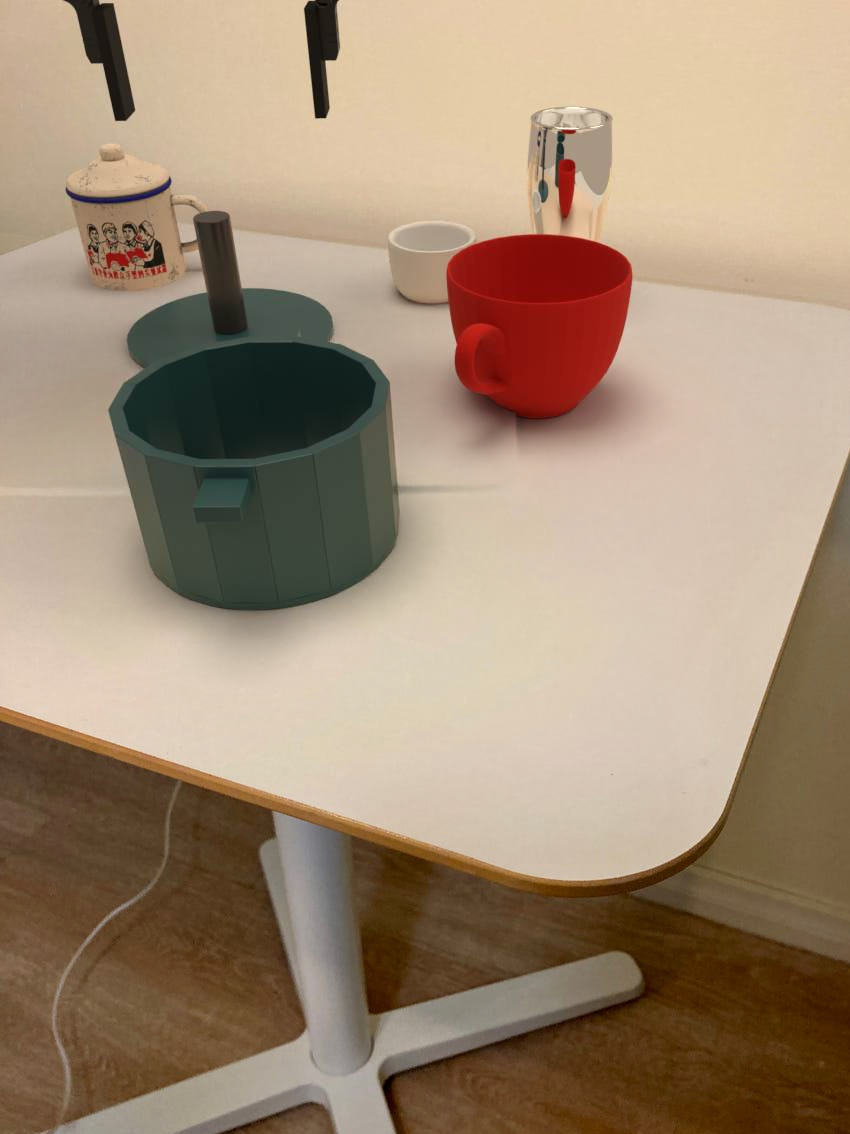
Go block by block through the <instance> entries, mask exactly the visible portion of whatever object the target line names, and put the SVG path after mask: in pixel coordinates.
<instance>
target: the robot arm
mask: <svg viewBox="0 0 850 1134" xmlns="http://www.w3.org/2000/svg"><path fill="white" fill-rule="evenodd" d="M62 1H63V2H66V3H68V4H69V5H71V7H72V8H73V9H74V11H75V13H76V17H77V22H78V25H79V31H80V34H81V38H82V43H83V47H84V52H85V56H86V58H87V60H88V61H89V63H90V64H93V65H94V64H95V65H96V64H97V65H98V64H101V65H102V67H103V72H104V76H105V81H106V86H107V91H108V94H109V99H110V104H111V109H112V113H113V117H114V121H115V122H127V121H128V120H129V119H130V117H132V115H133V114H134V113H135V112H136V107H135V101H134V97H133V92H132V91H133V90H132V85H131V82H130V78H129V72H128V68H127V62H126V58H125V52H124V49H123V43H122V38H121V33H120V28H119V24H118V19H117V13H116V9H115V3H114V2H102V3H101V2H100V0H62ZM339 1H340V0H308V1H307V2H306V4H305V5H304V7H303V13H304V23H305V33H306V44H307V52H308V63H309V74H310V81H311V92H312V101H313V112H314V113H313V114H314V119H327V118H328V115H329V111H330V109H331V106H330V105H331V104H330V95H329V84H328V74H327V73H328V72H327V63H326V61H334V62H335V61H337V60H338V57H339V55H340V50H341V39H340V32H339V31H340V27H339V15H338V2H339Z"/></svg>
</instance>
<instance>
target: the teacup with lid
mask: <svg viewBox="0 0 850 1134" xmlns="http://www.w3.org/2000/svg"><path fill="white" fill-rule="evenodd" d="M98 151H99V157H97V158H95V159H93V160H92V161H90V162H89V163H88V164H87V165H86V166H85V167H83V168H80V169H78V170H75V172H73V173H72V174H70V175H69V176H68V178H67V179H66V182H65V193H66V195H67V196H68V197H69V198H70V201H71V206H72V209H73V213H74V218H75V221H76V225H77V229H78V233H79V236H80V241H81V245H82V248H83V251H84V257H85V259H86V264H87V267H88V271H89V276H90V278H91V281H92V283H93V284H94V285H95V286H97V287H99V288H101V289H103V290H109V291H115V292H116V291H117V292H135V291H143V290H151V289H155V288H159V287H162V286H165V285H168V284H171V283H173V282H175V281H177V280H178V279H180V278H181V277H182V276H184V274H185V273H186V271H187V266H186V261H185V256H184V253H185V254H186V253H192V252H195V251H197V250H199V248H198V243H197V238H196V239H194V240H191V241H186V242H182V240H181V236H180V235H181V234H180V231H179V225H178V220H177V215H176V209H175V206H180V205H181V206H184V205H185V206H189V207H192V208H194V209H195V210H196V211H197V212H198V214H199V213H202V212H207V211H210V210H209V208H208V206H207V205H206V204H205V203H204V202H203V200H201V199H199V198H198V197H196V196H194V195H190V194H183V193H182V194H172V189H171V185H172V178H171V176H170V174H169V172H168V171H167V169H166V168H165V167H163V166H162V165H160V164H157V163H153V162H150V161H144V160H141V159H140V158H138V157H136V156H133V155H130V154H125V151H124V148H123V146H122V145H121V144H119V143H114V142H113V143H111V142H110V143H105V144H102V145H101V146H100V147H99V150H98Z"/></svg>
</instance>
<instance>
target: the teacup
mask: <svg viewBox="0 0 850 1134" xmlns="http://www.w3.org/2000/svg"><path fill="white" fill-rule="evenodd" d="M387 237H388V238H387V252H388V253H387V254H388V260H389V266H390V273H391V275H392V280H393V282H394V284H395V286H396V288H397V290H398V291H399V292H400V293H401V295H402V296H403V297H405V298H406V299H407V300H409V301H411V302H415V303H420V304H431V305H436V304H438V305H439V304H445V303H449V301H448V292H447V279H446V271H447V266H448V263H449V261H450V260H451V259H452V257H453V256H454V255H456V254H457V253H458V252H459V251H461V250H463V249H465V248H467V247H469V246H471V245H474V244H477V243H478V242H477V235H476V234H475V231H474V230H473V229H472V228H470V227H468V226H467V225H464V224H461V223H457V222H452V221H446V220H421V221H414V222H409V223H405V224H402V225H400V226H398V227H396V228H394V229H393V230H391V231H390V232H389V234H388V236H387Z"/></svg>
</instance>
